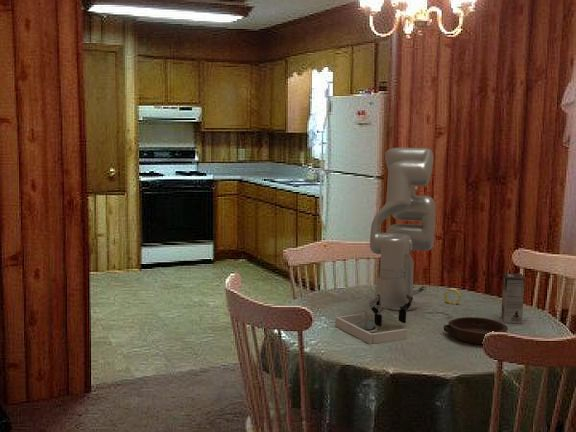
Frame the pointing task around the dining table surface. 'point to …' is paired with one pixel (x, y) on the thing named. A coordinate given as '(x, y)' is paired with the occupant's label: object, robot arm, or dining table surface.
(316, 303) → the dining table surface
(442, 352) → the dining table surface
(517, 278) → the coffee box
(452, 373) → the dining table surface
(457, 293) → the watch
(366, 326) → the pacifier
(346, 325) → the box
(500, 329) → the dish
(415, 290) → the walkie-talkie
